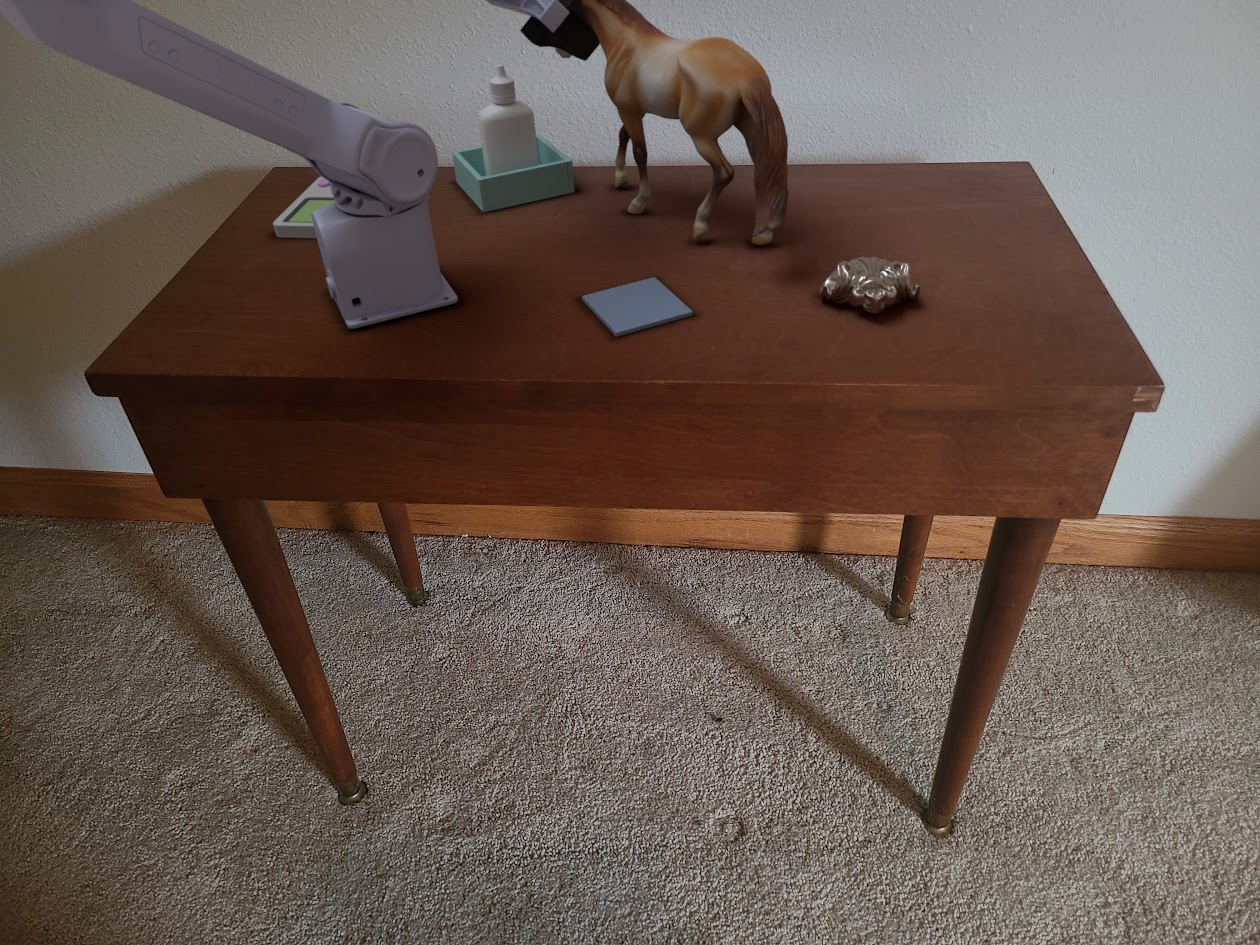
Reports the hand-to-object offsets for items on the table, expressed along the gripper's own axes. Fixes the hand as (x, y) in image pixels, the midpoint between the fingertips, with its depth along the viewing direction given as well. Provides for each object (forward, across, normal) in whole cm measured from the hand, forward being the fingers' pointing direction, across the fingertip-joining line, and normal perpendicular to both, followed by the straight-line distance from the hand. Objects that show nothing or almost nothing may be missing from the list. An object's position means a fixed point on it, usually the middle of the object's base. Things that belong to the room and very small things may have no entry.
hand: (569, 28), depth 81 cm
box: (+11, +4, +16) cm, 20 cm away
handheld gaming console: (+1, +10, +29) cm, 30 cm away
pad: (+2, -24, +12) cm, 27 cm away
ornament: (+12, -35, -1) cm, 37 cm away
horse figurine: (+12, -14, +8) cm, 20 cm away
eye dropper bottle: (+11, +4, +16) cm, 20 cm away
